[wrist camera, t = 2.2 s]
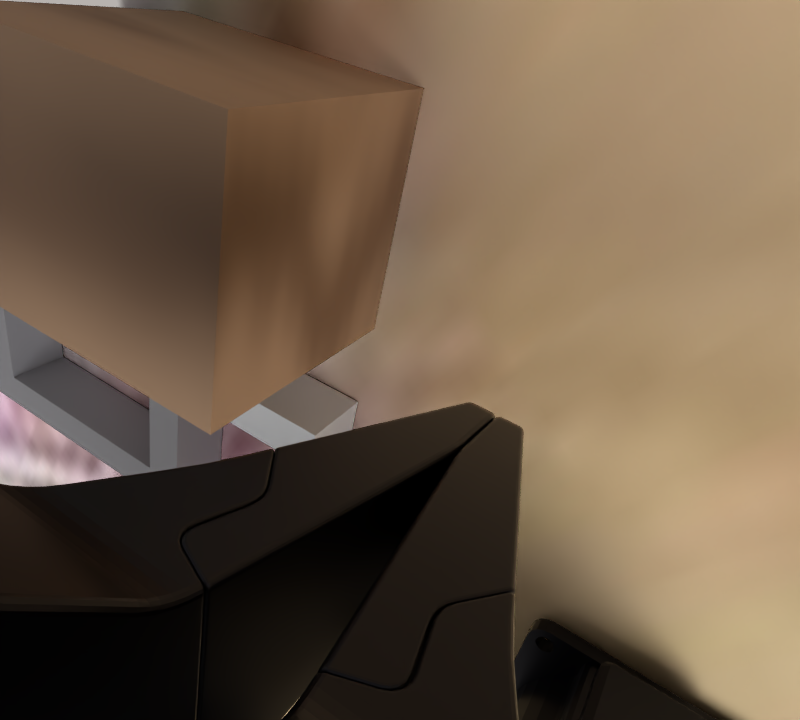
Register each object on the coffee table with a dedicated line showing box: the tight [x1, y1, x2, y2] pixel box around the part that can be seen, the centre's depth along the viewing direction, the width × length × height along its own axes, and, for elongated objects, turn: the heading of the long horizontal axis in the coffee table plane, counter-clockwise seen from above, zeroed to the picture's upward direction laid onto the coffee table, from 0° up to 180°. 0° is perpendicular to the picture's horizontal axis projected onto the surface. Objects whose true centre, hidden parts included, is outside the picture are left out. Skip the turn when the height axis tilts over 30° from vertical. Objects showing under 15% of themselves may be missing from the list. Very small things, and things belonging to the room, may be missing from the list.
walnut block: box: [0, 1, 424, 435], centre depth 14 cm, size 6×7×6 cm
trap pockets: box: [0, 307, 223, 476], centre depth 18 cm, size 23×14×2 cm, turn 166°
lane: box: [230, 374, 358, 449], centre depth 18 cm, size 13×20×2 cm, turn 76°
